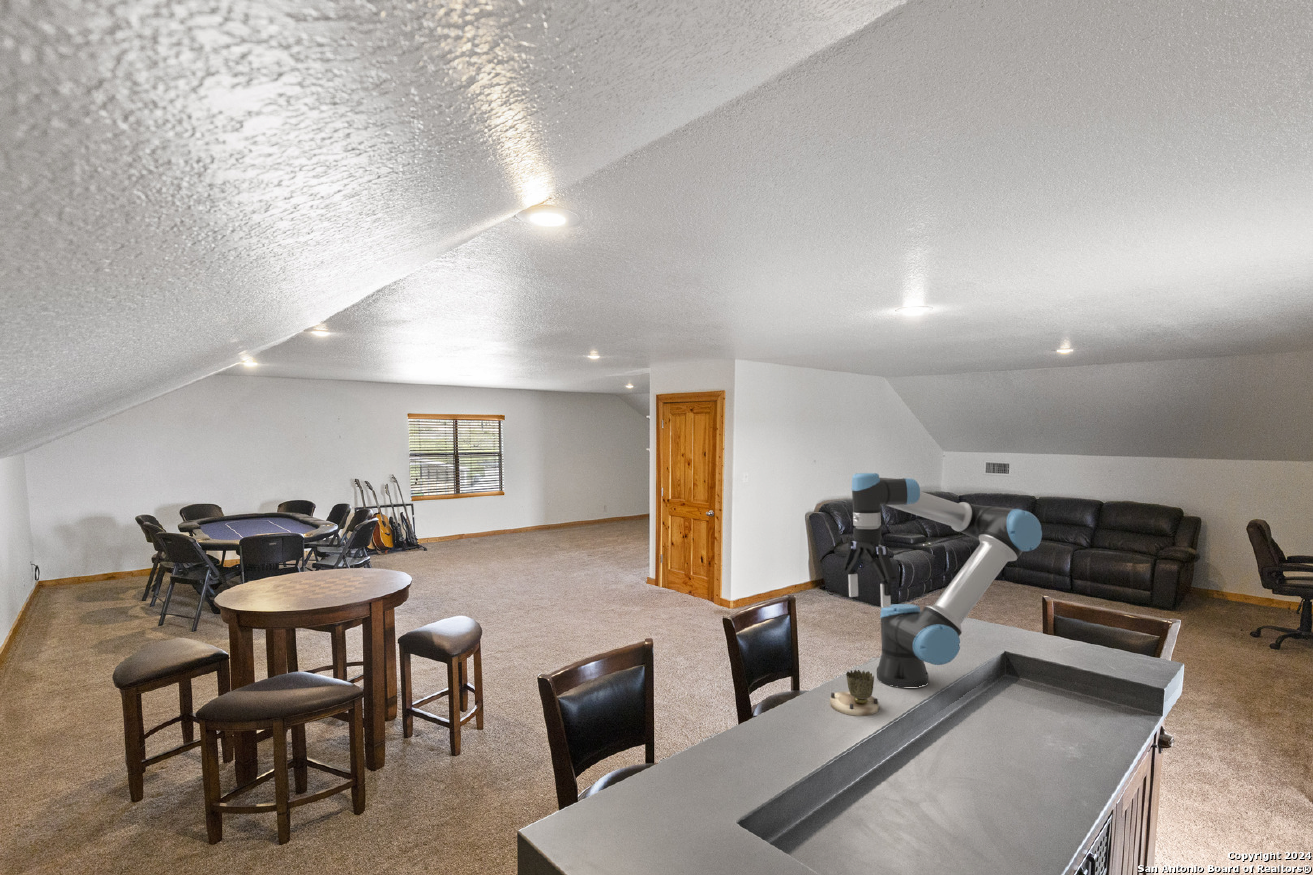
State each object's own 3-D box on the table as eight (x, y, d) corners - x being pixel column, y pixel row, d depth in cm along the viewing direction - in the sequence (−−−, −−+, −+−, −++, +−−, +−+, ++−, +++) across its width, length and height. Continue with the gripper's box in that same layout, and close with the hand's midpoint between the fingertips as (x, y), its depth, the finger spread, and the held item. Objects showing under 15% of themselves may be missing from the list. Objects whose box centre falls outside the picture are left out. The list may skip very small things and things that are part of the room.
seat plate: (857, 693, 185) (857, 684, 185) (888, 710, 173) (888, 700, 173) (820, 701, 181) (820, 691, 181) (850, 718, 168) (849, 708, 169)
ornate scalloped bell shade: (878, 708, 171) (877, 678, 171) (851, 708, 171) (850, 679, 171) (870, 697, 178) (869, 669, 179) (844, 697, 179) (843, 669, 179)
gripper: (829, 523, 190) (831, 593, 189) (887, 533, 166) (889, 613, 166) (849, 521, 192) (851, 591, 192) (909, 531, 169) (911, 610, 169)
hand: (869, 601), depth 179 cm, fingers open, 13 cm apart
